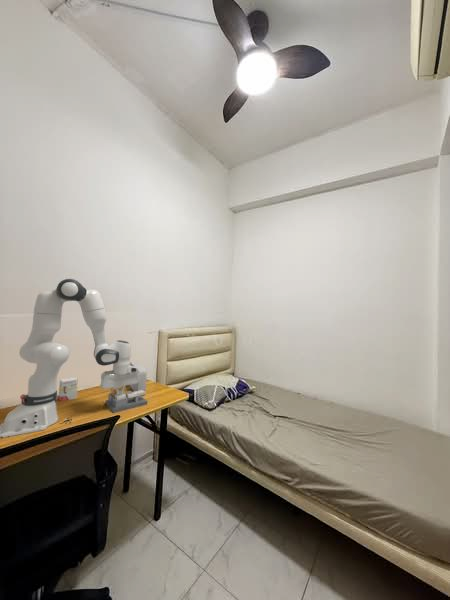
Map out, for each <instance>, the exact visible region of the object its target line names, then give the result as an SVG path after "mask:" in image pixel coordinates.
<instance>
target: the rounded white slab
mask: <svg viewBox="0 0 450 600" xmlns="http://www.w3.org/2000/svg"><path fill="white" fill-rule="evenodd" d="M130 365H132V366H135V367H137V368H138V371H137V372H138V373H139V382H138V383H137V384H132V385H129V387H130V388H131V389H132V390H131V391H132V392H135V391H140V390H143V391H145V393H146V390H147V388H146V387H147V373H148V372H147V368H145V366H143V365H142V364H141V362H138V361H130Z"/></svg>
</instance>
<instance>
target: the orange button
mask: <svg viewBox="0 0 450 600" xmlns="http://www.w3.org/2000/svg"><path fill="white" fill-rule="evenodd" d="M121 389H122V386H120V387H119V389H118V390H121ZM110 393H111V395H112V396H115V395H116V394H117V391H116V389H115V387H114V388H110Z"/></svg>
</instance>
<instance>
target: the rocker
mask: <svg viewBox="0 0 450 600" xmlns="http://www.w3.org/2000/svg"><path fill="white" fill-rule="evenodd" d="M125 395H126V397H127V398H132V397H136V396H144V395H146V392H145V391H143V390H140V391H135V392H134V391H132V392H131V393H126V392H125Z"/></svg>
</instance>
